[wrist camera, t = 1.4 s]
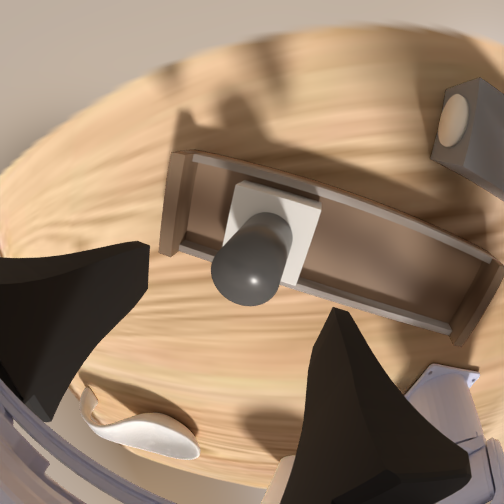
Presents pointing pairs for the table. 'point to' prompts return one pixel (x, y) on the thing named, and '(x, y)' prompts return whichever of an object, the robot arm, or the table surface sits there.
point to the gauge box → (473, 134)
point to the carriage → (263, 242)
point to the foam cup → (279, 481)
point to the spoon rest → (144, 431)
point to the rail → (341, 246)
